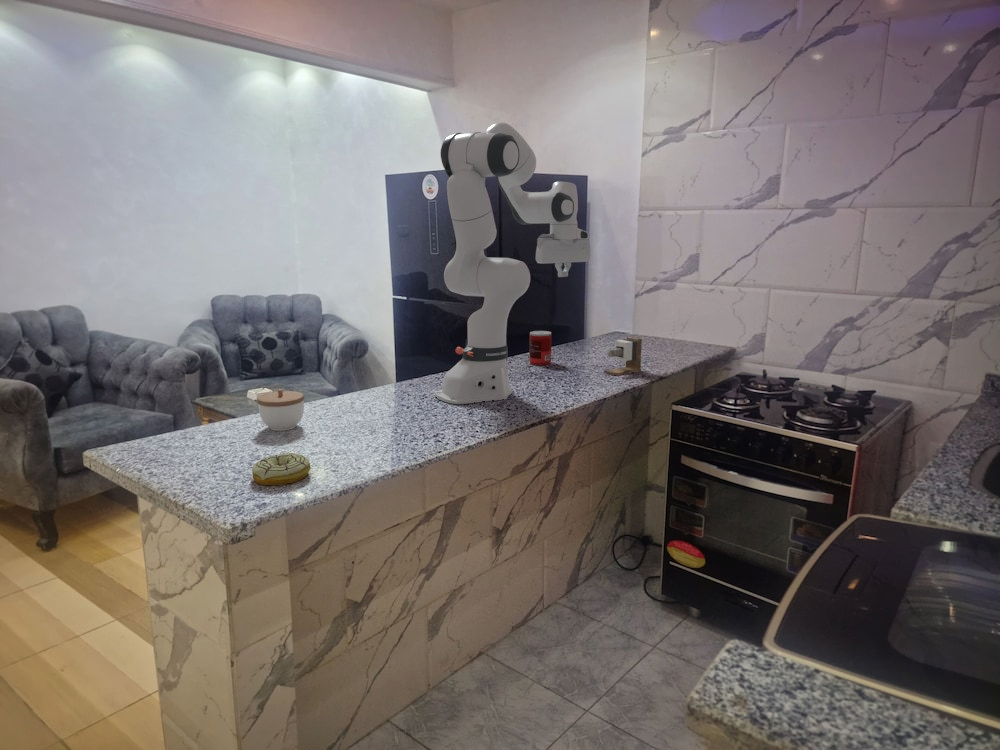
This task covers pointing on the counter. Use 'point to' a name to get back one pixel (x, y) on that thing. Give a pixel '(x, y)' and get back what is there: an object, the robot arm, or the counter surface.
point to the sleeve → (627, 350)
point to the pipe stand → (630, 365)
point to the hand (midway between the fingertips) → (562, 276)
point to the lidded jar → (281, 409)
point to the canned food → (540, 347)
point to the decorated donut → (281, 469)
